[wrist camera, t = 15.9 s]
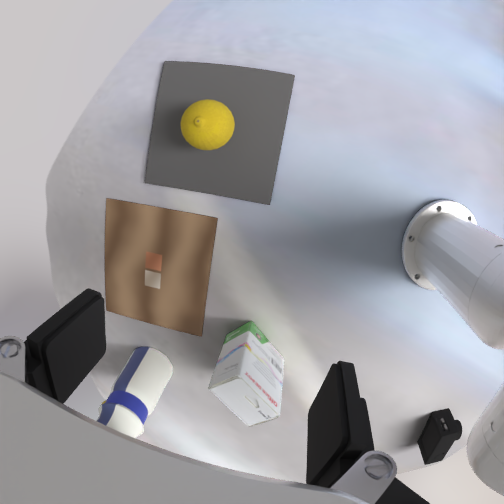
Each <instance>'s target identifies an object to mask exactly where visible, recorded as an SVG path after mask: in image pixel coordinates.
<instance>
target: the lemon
mask: <svg viewBox="0 0 504 504" xmlns="http://www.w3.org/2000/svg"><path fill="white" fill-rule="evenodd" d="M234 126H235V123H234V117H233V115H232V113H231V111H230V110H229V109H228V107H227V106H225V105H224V104H222V103H221V102H218V101H216V100H209V99H206V100H200V101H197V102H195V103H193V104H192V105H190V106H189V107H188V108H187V109H186V110H185V112H184V114H183V116H182V119H181V131H182V135H183V136H184V138H185V140H186V141H187V142H188V143H189V144H190V145H192V146H193V147H195V148H197V149H201V150H214V149H218V148H220V147H222V146H224V145H225V144H226V143H227V142H228V141H229V140H230V138H231V137H232V134H233V132H234Z"/></svg>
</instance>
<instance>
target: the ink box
mask: <svg viewBox="0 0 504 504" xmlns="http://www.w3.org/2000/svg"><path fill="white" fill-rule="evenodd" d="M283 372H284V358H283V357H282V356H281V355H280V353H279V352H278V351H277V350H276V349H275V348H274V347H273V345H272V344H271V343H270V342H269V341H268V340H267V338H266V337H265V336H264V335H263V334H262V333H261V331H260V330H259V329H258V328H257V327H256V325H255V324H254V323H253V322H252V321H250V322H248V323H246V324H244V325H243V326H241V327H239V328H237V329H236V330H234V331H232V332H230V333H229V334H227V335H226V338H225V341H224V344H223V347H222V350H221V353H220V355H219V358H218V361H217V364H216V367H215V370H214V372H213V375H212V378H211V381H210V384H209V387H208V389H209V390H210V391H211V392H212V393H213V394H214V395H215V396H216V397H217V398H218V399H219V400H220V401H221V402H222V403H223V404H224V405H225V406H226V407H227V408H228V409H230V410H231V411H232V412H233V413H234V414H235V415H236V416H237V417H238V418H239V419H240V420H241V421H242V422H244V423H245V424H246V425H247V426H248V427H251V426H254V425H258V424H261V423H264V422H267V421H270V420H273V419H275V418H278V417H279V416H280V409H281V397H282V385H283Z"/></svg>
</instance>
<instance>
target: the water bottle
mask: <svg viewBox="0 0 504 504" xmlns="http://www.w3.org/2000/svg"><path fill="white" fill-rule="evenodd" d="M172 374H173V366H172V364H171V362H170V360H169V359H168V358H167V357H166V356H165V355H164V354H163V353H162V352H160V351H158V350H156V349H154V348H151V347H139V348H136V349H135V350H134V351H133V352H132V354H131V356H130V358H129V359H128V361H127V363H126V365H125V366H124V368H123V370H122V371H121V373H120V375H119V376H118V378H117V379H116V381H115V383H114V384H113V386H112V389H111V392H110V396H109V397H108V399H107V400H106V401H104V402H103V403H102V404H101V405H100V407H99V417H98V419H97V422H99V423H101V424H103V425H105V426H108V427H110V428H112V429H114V430H117V431H119V432H121V433H123V434H126V435H128V436H131V437H133V438H136V437H137V436H139V435H141V434H142V433H143V431H144V426H143V424H144V422H145V420H146V418H147V417H148V416H149V415H150V414H151V413H152V412H153V410H154V408H155V406H156V405H157V402H158V400H159V398H160V396H161V394H162V392H163V390H164V389H165V387H166V385H167V383H168V381H169V380H170V378H171V376H172Z"/></svg>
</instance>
